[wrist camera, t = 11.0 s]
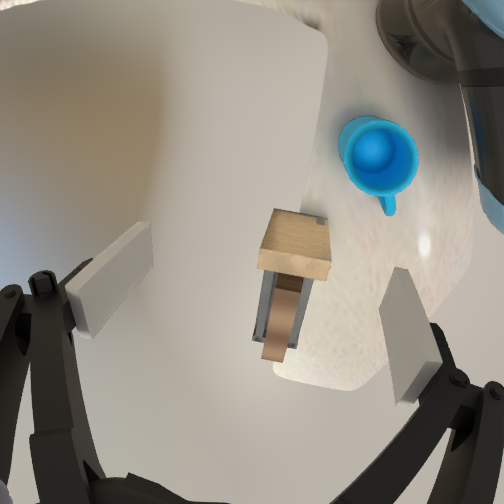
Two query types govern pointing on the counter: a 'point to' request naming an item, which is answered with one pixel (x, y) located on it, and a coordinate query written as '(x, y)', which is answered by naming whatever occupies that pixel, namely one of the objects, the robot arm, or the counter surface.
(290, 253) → the door track
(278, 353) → the door panel
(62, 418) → the robot arm
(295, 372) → the counter surface
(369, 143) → the mug
